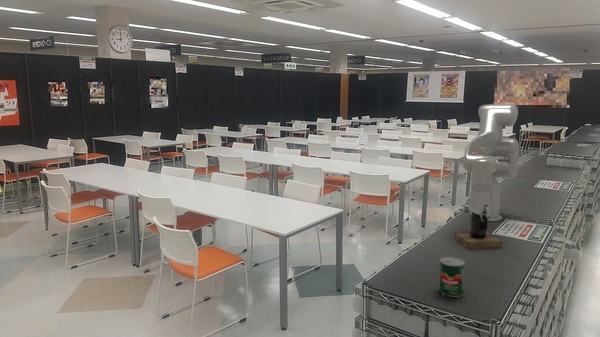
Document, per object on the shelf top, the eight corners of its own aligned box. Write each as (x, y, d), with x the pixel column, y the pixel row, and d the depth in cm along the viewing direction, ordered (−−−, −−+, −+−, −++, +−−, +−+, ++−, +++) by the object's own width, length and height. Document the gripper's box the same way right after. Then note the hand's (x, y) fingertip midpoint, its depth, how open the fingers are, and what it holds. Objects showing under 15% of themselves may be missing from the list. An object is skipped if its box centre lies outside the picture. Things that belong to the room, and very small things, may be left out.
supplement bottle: (483, 232, 185) (485, 206, 182) (488, 238, 178) (490, 211, 176) (467, 232, 185) (469, 206, 183) (472, 238, 179) (474, 211, 176)
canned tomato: (457, 286, 142) (459, 255, 140) (467, 297, 134) (469, 265, 132) (434, 287, 142) (435, 256, 140) (443, 298, 134) (444, 266, 132)
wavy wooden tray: (454, 238, 188) (455, 232, 188) (484, 237, 190) (484, 231, 189) (470, 250, 175) (470, 243, 174) (501, 248, 176) (502, 241, 175)
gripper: (462, 183, 186) (460, 221, 189) (483, 192, 169) (480, 233, 172) (478, 182, 187) (476, 220, 190) (500, 191, 170) (497, 232, 173)
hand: (478, 226), depth 181 cm, fingers open, 7 cm apart
